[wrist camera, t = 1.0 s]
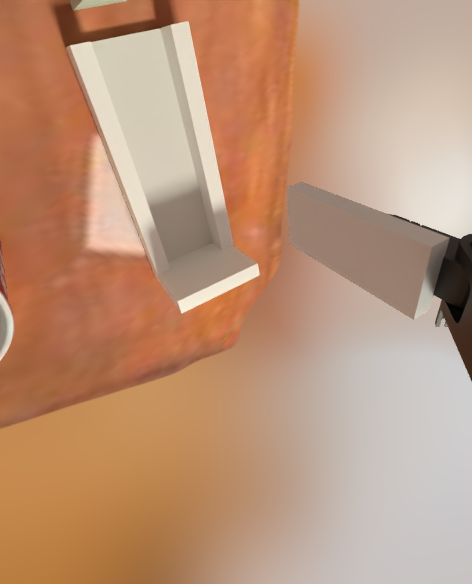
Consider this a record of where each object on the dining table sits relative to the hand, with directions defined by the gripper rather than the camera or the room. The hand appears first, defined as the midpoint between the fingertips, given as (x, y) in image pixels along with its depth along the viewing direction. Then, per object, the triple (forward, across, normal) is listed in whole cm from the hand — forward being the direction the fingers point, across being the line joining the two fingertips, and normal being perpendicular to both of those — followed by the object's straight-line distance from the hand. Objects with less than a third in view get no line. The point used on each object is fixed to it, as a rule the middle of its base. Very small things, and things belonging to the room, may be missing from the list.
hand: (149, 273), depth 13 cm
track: (+22, +8, -2) cm, 24 cm away
